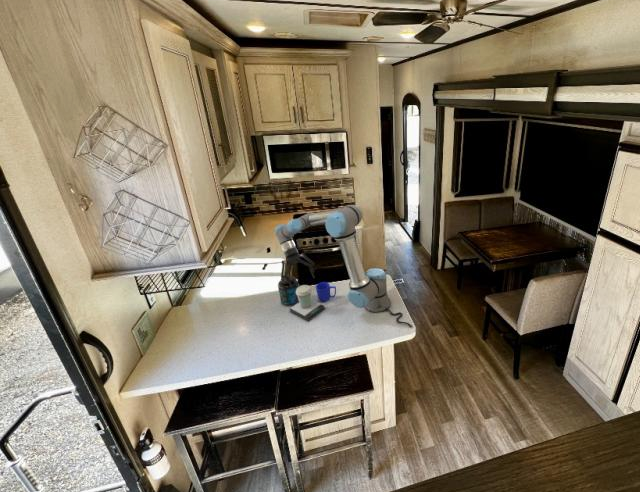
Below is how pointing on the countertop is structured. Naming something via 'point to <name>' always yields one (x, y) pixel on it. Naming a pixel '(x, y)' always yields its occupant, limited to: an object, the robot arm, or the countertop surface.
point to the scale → (307, 310)
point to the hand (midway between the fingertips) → (303, 282)
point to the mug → (324, 291)
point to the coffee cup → (304, 296)
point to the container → (288, 291)
